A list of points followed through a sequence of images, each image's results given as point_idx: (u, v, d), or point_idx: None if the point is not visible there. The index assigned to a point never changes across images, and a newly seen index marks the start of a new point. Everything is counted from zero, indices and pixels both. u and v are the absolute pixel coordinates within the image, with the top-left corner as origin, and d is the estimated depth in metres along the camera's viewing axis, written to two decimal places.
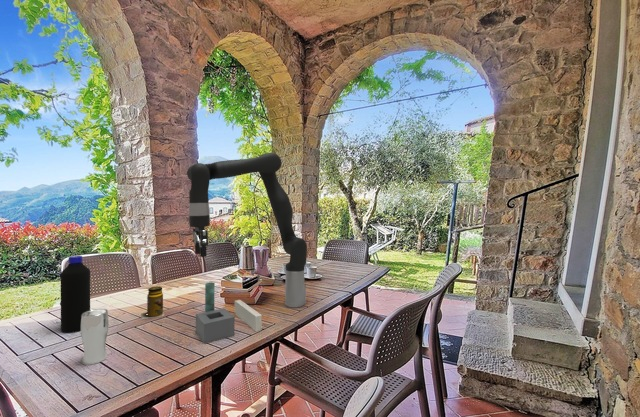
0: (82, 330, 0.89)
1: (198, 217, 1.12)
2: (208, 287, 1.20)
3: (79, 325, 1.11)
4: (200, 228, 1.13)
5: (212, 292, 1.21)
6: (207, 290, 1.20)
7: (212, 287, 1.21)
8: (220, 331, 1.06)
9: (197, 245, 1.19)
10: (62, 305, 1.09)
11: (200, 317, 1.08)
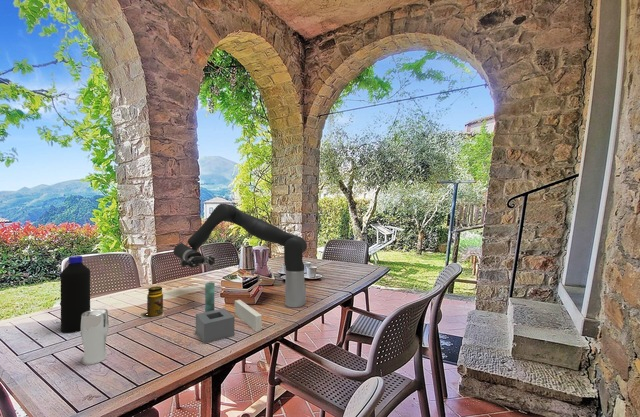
0: (82, 330, 0.89)
1: None
2: (208, 287, 1.20)
3: (79, 325, 1.11)
4: None
5: (212, 292, 1.21)
6: (207, 290, 1.20)
7: (212, 287, 1.21)
8: (220, 331, 1.06)
9: (208, 262, 1.35)
10: (62, 305, 1.09)
11: (200, 317, 1.08)
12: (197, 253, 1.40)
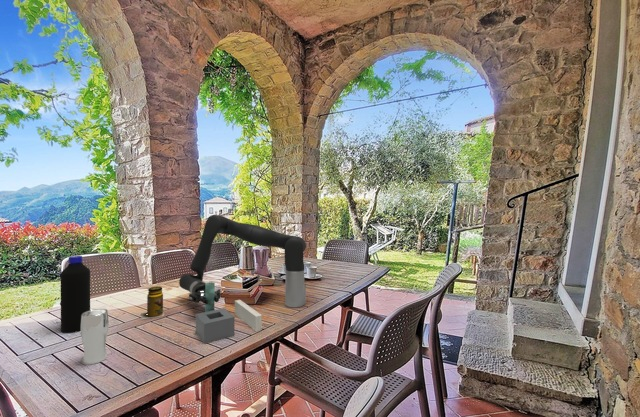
0: (82, 330, 0.89)
1: None
2: (208, 287, 1.20)
3: (79, 325, 1.11)
4: None
5: (212, 292, 1.21)
6: (207, 290, 1.20)
7: (212, 287, 1.21)
8: (220, 331, 1.06)
9: None
10: (62, 305, 1.09)
11: (200, 317, 1.08)
12: None
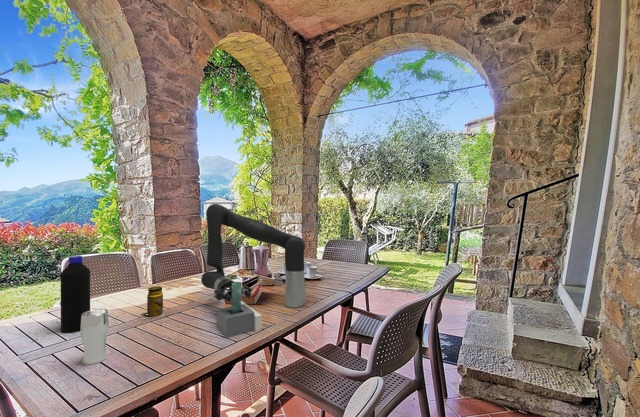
0: (82, 330, 0.89)
1: None
2: (235, 287, 1.14)
3: (79, 325, 1.11)
4: (221, 293, 1.21)
5: (239, 292, 1.14)
6: (234, 290, 1.14)
7: (239, 287, 1.14)
8: (241, 326, 1.11)
9: (245, 294, 1.19)
10: (62, 305, 1.09)
11: (222, 312, 1.13)
12: (231, 282, 1.24)
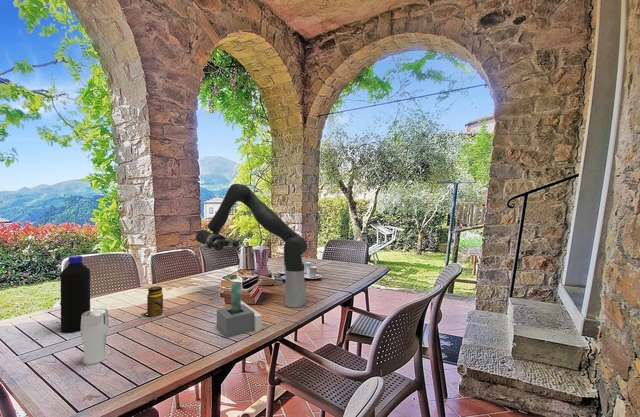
0: (82, 330, 0.89)
1: None
2: (234, 287, 1.14)
3: (79, 325, 1.11)
4: None
5: (239, 292, 1.14)
6: (234, 290, 1.14)
7: (239, 287, 1.14)
8: (241, 326, 1.11)
9: (233, 244, 1.38)
10: (62, 305, 1.09)
11: (222, 312, 1.13)
12: (221, 236, 1.43)
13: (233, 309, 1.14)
